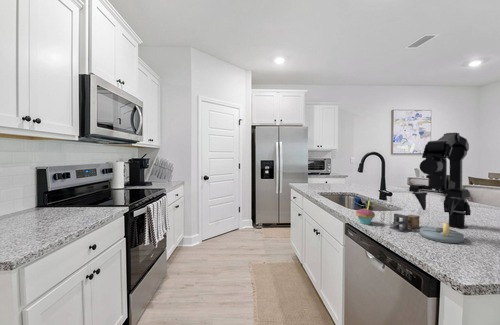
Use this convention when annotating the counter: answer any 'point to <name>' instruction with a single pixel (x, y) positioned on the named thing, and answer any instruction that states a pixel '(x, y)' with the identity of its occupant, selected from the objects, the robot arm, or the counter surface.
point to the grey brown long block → (409, 221)
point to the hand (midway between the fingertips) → (436, 212)
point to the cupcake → (365, 215)
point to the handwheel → (442, 234)
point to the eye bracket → (404, 223)
